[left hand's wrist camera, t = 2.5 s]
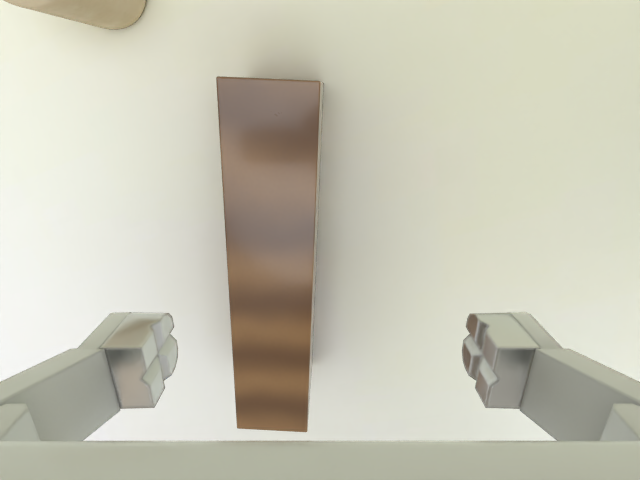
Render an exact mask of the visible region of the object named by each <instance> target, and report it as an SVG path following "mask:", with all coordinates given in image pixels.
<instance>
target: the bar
mask: <svg viewBox="0 0 640 480" xmlns="http://www.w3.org/2000/svg"><path fill="white" fill-rule="evenodd" d="M216 80H217V97H218V114H219V131H220V148H221V165H222V182H223V198H224V215H225V232H226V249H227V266H228V283H229V300H230V316H231V333H232V350H233V367H234V384H235V401H236V417H237V428H239V429H257V430H276V431H294V432H307V428H308V414H309V400H310V385H311V371H312V351H313V327H314V302H315V278H316V254H317V229H318V205H319V181H320V156H321V132H322V107H323V83H322V82H320V81H308V80H286V79H263V78H240V77H217V78H216Z"/></svg>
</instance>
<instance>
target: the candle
mask: <svg viewBox="0 0 640 480" xmlns="http://www.w3.org/2000/svg"><path fill="white" fill-rule="evenodd" d="M4 1H6V2H8V3H10V4H13V5H16V6H19V7H23V8H27V9H31V10H35V11H39V12H43V13H46V14H50V15H54V16H58V17H62V18H66V19H70V20H74V21H77V22H81V23H85V24H89V25H93V26H97V27H101V28H106V29H123V28H126V27H128V26H130V25H132V24H133V23H135V22H136V21H137V20H138V18H139V17H140V16H141V14H142V12H143V10H144V7H145V3H146V0H4Z"/></svg>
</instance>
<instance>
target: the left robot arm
mask: <svg viewBox="0 0 640 480" xmlns="http://www.w3.org/2000/svg"><path fill="white" fill-rule="evenodd" d="M173 328H174V323H173V319H172V316H171V315H170V314H169V313H138V312H133V313H131V312H115V313H111V314H109V315H108V316H107V318H106V319H105V320H104V321H103V322H102V323H101V324H100V325H99V326H98V327H97V328H96V329H95V330H94V331H93V332H92V333H91V334H90V335H89V337H88V338H87V339H86V340H85V341H84V342H83V343H82V344H81V345H80V346H79V347H78V348H77V349H69V350H67V351H65V352H63V353H61V354H59V355H57V356H54V357H52V358H50V359H48V360H46V361H44V362H42V363H40V364H37V365H35V366H33V367H31V368H29V369H27V370H25V371H23V372H20V373H18V374H16V375H14V376H12V377H10V378H8V379H6V380H3V381H1V382H0V480H640V382H639V381H636V380H634V379H632V378H630V377H628V376H626V375H624V374H622V373H619V372H617V371H615V370H613V369H611V368H609V367H607V366H605V365H602V364H600V363H598V362H596V361H594V360H592V359H590V358H588V357H586V356H583V355H581V354H579V353H577V352H575V351H573V350H571V349H563V348H562V347H561V346H560V345H559V344H558V343H557V342H556V341H555V340H554V339H553V338H552V336H551V335H550V334H549V333H548V332H547V331H546V330H545V329H544V328H543V327H542V326H541V325H540V324H539V323H538V322H537V321H536V320H535V319H534V317H533V316H532V315H531V314H529V313H527V312H512V313H480V314H469V316H468V318H467V323H466V328H467V330H468V331H469V333H470V334H469V335H468V336H467V337H466V338H465V339H464V340H463V347H462V356H463V363H464V366H465V369H466V371H467V373H468V375H469V376H470V377H472V378H473V379H475V380H476V386H475V389H476V391H477V392H478V394H479V396H480V398H481V400H482V402H483V404H484V406H485V408H514V409H520V411H521V412H522V413H524V414H525V415H526V416H527V417H529V418H530V419H531V420H532V421H534V422H535V423H536V424H537V425H538V426H540V427H541V428H542V429H543V430H545V431H546V432H547V433H548V434H550V435H551V436H552V437H553V438H554V439H556V440H557V441H83V440H84V439H86V438H87V437H88V436H89V435H91V434H92V433H93V432H94V431H95V430H97V429H98V428H99V427H100V426H102V425H103V424H104V423H105V422H107V421H108V420H109V419H110V418H112V417H113V416H114V415H115V414H116V413H118V412H119V411H120V409H126V408H155V406H156V404H157V402H158V400H159V398H160V396H161V394H162V392H163V391H164V389H165V386H164V380H165V379H167V378H168V377H170V376H171V375H172V373H173V371H174V369H175V367H176V362H177V358H178V346H177V340H176V339H175V338H174V337H173V336H172V335H171V334H170V333H171V331H172V330H173Z"/></svg>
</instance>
